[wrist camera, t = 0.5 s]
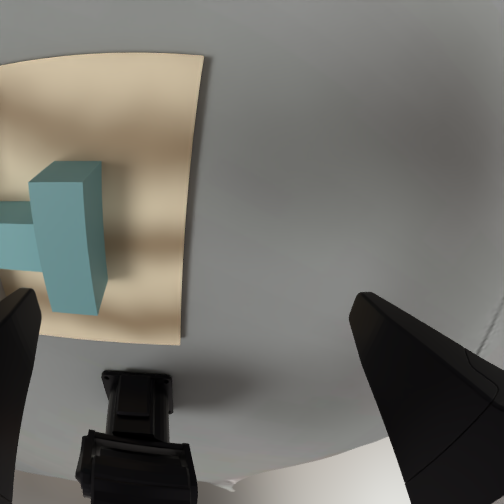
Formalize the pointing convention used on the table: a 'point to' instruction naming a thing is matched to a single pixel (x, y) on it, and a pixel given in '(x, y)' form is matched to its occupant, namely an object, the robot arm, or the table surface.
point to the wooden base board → (110, 176)
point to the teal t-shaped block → (60, 235)
